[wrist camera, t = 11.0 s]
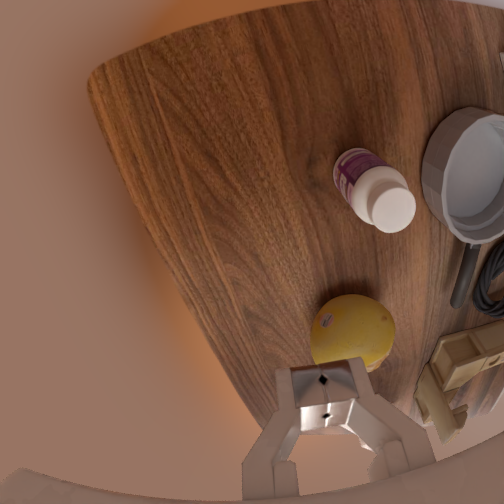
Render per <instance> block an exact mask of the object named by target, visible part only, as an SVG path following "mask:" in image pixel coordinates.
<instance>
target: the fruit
mask: <svg viewBox="0 0 504 504" xmlns="http://www.w3.org/2000/svg"><path fill="white" fill-rule="evenodd" d="M395 329H396V328H395V323H394V320H393V318H392V316H391V314H390V312H389V311H388V310H387V309H386V308H385V307H384V306H383V305H382V304H380V303H379V302H377V301H376V300H374V299H371V298H369V297H366V296H363V295H357V294H348V295H342V296H339V297H336V298H333V299H331V300H330V301H328V302H327V303H326V304H325V305H324V306H323V307H322V308H321V309H320V310H319V312H318V313H317V315H316V317H315V319H314V322H313V324H312V327H311V333H310V345H311V352H312V356H313V360H314V362H315V364H319V363H325V362H331V361H337V360H342V359H350V358H355V357H361V358H362V359H363V361H364V364H365V367H366V370H367V373H368V372H371V371H373V370H375V369H377V368H378V367H379V366H380V364H381V362H382V361H383V360H384V359H385V358H386V357H387V356H388V355H389V354H390V350H391V347H392V344H393V341H394V336H395Z"/></svg>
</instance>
